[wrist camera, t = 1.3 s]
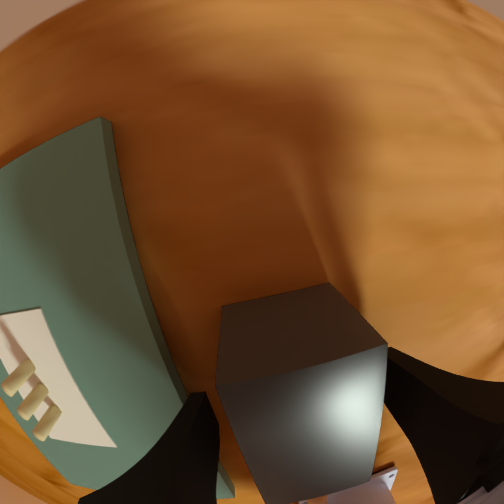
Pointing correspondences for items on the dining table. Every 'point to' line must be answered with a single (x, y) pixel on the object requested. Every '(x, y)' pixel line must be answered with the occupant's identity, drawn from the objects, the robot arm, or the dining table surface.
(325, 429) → the block
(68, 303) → the board
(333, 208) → the dining table surface
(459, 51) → the dining table surface
